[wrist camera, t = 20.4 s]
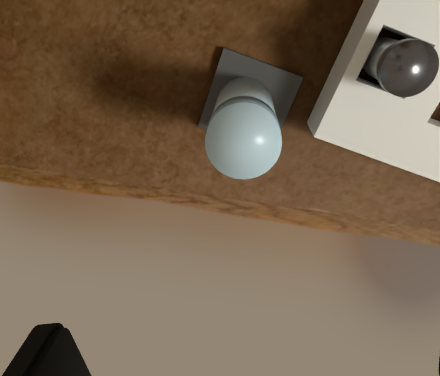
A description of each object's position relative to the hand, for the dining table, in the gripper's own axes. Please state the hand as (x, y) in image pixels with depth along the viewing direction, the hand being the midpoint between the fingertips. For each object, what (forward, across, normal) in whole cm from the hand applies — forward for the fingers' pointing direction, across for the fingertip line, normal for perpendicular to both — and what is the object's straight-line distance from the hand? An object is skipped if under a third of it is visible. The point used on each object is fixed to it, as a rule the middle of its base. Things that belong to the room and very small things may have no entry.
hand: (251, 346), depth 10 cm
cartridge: (+26, 0, 0) cm, 26 cm away
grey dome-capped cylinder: (+25, -11, -2) cm, 28 cm away
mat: (+26, 0, 0) cm, 26 cm away
